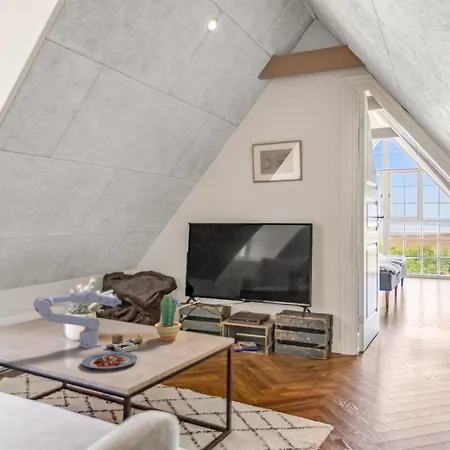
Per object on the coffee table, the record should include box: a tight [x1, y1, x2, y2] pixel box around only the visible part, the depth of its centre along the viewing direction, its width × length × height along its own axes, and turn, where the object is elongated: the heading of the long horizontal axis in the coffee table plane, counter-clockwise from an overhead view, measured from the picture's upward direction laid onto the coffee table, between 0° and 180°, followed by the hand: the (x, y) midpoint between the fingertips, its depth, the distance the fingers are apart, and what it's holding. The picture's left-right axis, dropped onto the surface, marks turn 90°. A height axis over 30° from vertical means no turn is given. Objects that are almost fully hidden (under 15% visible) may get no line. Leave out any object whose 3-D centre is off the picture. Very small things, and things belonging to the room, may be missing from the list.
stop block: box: [111, 333, 124, 344], centre depth 257 cm, size 4×4×6 cm
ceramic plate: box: [81, 351, 138, 370], centre depth 227 cm, size 26×26×3 cm
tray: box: [112, 341, 139, 353], centre depth 250 cm, size 9×9×2 cm
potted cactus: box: [154, 294, 182, 342], centre depth 273 cm, size 15×16×25 cm
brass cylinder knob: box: [128, 334, 143, 344], centre depth 260 cm, size 8×3×4 cm, turn 74°
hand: (128, 304), depth 270 cm, fingers open, 7 cm apart
